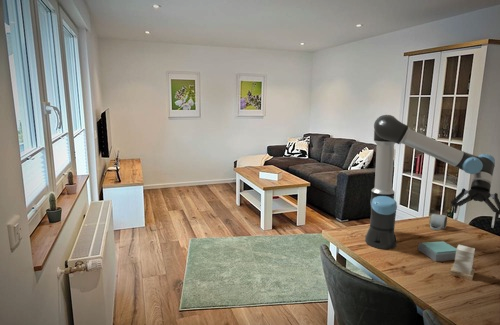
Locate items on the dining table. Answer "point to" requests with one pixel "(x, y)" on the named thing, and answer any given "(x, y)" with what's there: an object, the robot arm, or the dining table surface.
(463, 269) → the pallet
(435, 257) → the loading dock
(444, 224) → the ceramic mug
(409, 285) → the dining table surface
